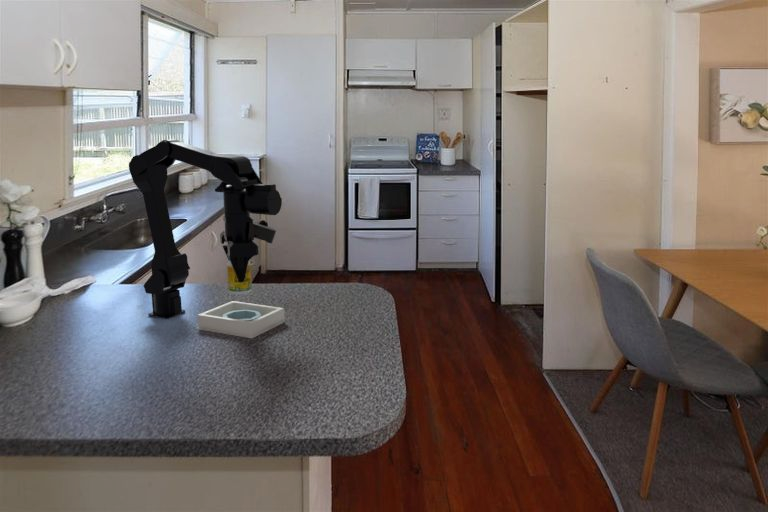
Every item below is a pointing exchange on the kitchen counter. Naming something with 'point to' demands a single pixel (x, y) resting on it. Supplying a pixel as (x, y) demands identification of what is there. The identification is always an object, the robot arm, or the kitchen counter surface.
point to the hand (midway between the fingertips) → (239, 279)
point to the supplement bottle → (234, 284)
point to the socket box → (241, 319)
